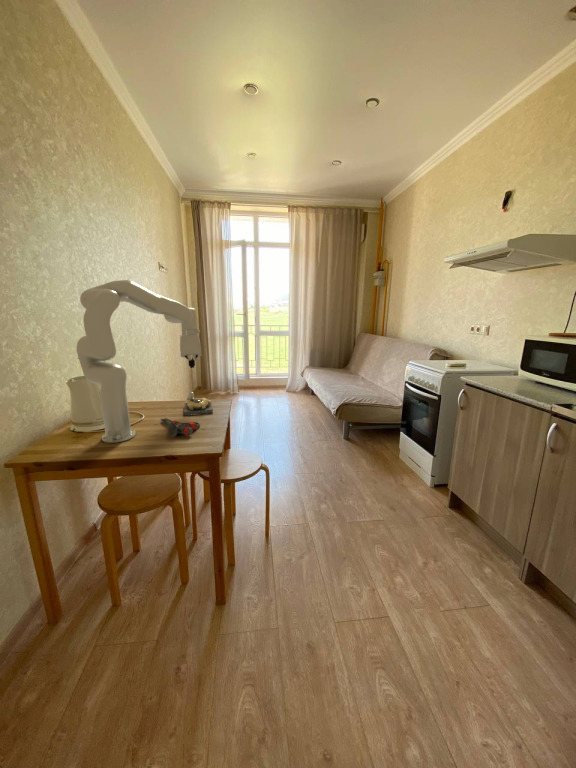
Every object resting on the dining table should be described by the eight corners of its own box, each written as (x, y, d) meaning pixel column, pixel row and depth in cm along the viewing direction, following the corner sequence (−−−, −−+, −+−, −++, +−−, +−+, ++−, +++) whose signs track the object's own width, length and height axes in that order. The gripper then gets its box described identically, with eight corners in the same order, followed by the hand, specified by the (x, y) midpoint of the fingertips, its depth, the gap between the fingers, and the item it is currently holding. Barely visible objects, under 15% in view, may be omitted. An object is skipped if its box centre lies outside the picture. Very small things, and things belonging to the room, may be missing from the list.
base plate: (212, 413, 157) (212, 409, 157) (184, 415, 153) (184, 412, 153) (211, 404, 171) (210, 400, 171) (184, 406, 167) (184, 403, 167)
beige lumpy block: (210, 401, 169) (210, 390, 167) (210, 408, 157) (209, 396, 156) (186, 402, 166) (185, 391, 164) (184, 410, 155) (183, 398, 153)
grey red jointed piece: (210, 435, 135) (177, 441, 125) (182, 422, 153) (151, 426, 142) (210, 421, 135) (178, 426, 124) (182, 410, 152) (152, 413, 142)
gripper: (203, 331, 162) (205, 365, 167) (173, 332, 156) (176, 367, 161) (205, 332, 156) (207, 367, 160) (174, 333, 150) (177, 369, 154)
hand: (192, 367), depth 161 cm, fingers closed
